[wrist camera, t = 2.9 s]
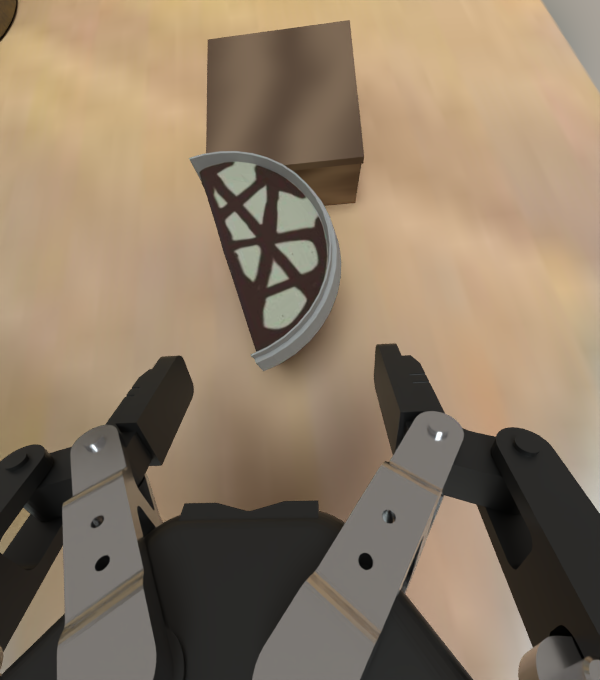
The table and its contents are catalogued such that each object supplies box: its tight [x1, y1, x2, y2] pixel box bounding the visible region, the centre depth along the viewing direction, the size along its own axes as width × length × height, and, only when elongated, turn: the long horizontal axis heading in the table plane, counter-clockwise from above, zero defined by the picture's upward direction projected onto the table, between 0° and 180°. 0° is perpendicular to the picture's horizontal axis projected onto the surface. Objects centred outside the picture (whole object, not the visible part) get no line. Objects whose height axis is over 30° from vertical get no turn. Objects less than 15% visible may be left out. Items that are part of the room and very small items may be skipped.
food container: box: [189, 151, 341, 371], centre depth 20 cm, size 12×6×10 cm, turn 19°
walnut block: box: [206, 20, 364, 205], centre depth 25 cm, size 11×12×5 cm
